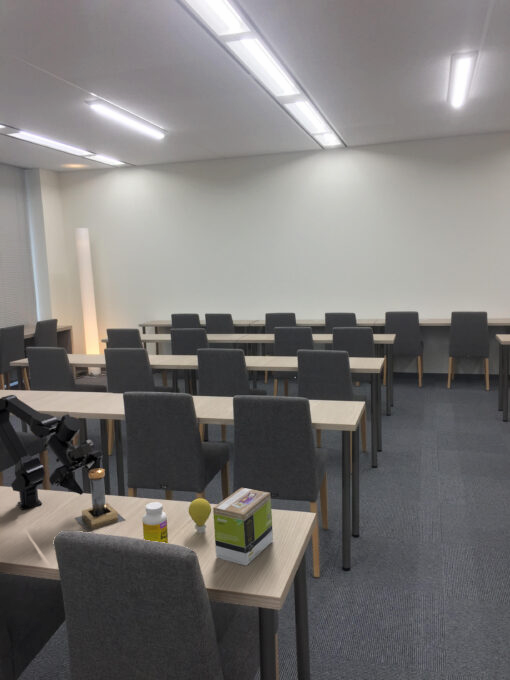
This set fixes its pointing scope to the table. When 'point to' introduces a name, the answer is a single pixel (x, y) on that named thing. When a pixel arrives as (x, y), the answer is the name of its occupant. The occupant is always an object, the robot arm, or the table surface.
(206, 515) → the light bulb
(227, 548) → the tea box
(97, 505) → the copper capped grey cylinder
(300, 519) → the table surface
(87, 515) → the tan square base
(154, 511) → the supplement bottle
